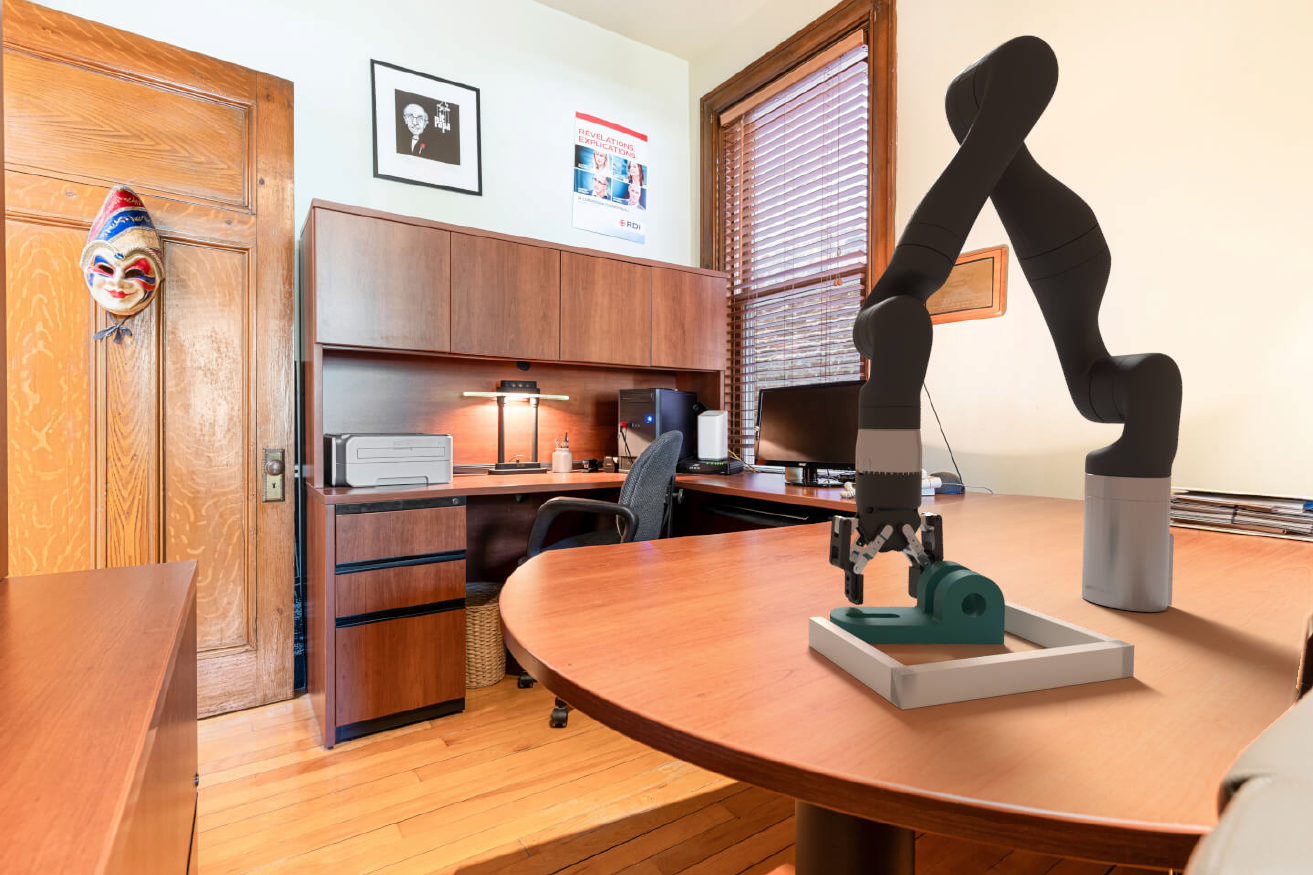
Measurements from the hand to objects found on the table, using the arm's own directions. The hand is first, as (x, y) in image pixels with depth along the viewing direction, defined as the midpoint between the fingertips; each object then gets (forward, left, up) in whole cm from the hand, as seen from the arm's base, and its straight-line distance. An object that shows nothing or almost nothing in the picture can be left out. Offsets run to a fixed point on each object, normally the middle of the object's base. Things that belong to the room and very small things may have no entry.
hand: (886, 600), depth 75 cm
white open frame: (0, +12, -3) cm, 13 cm away
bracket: (0, +4, -3) cm, 5 cm away
